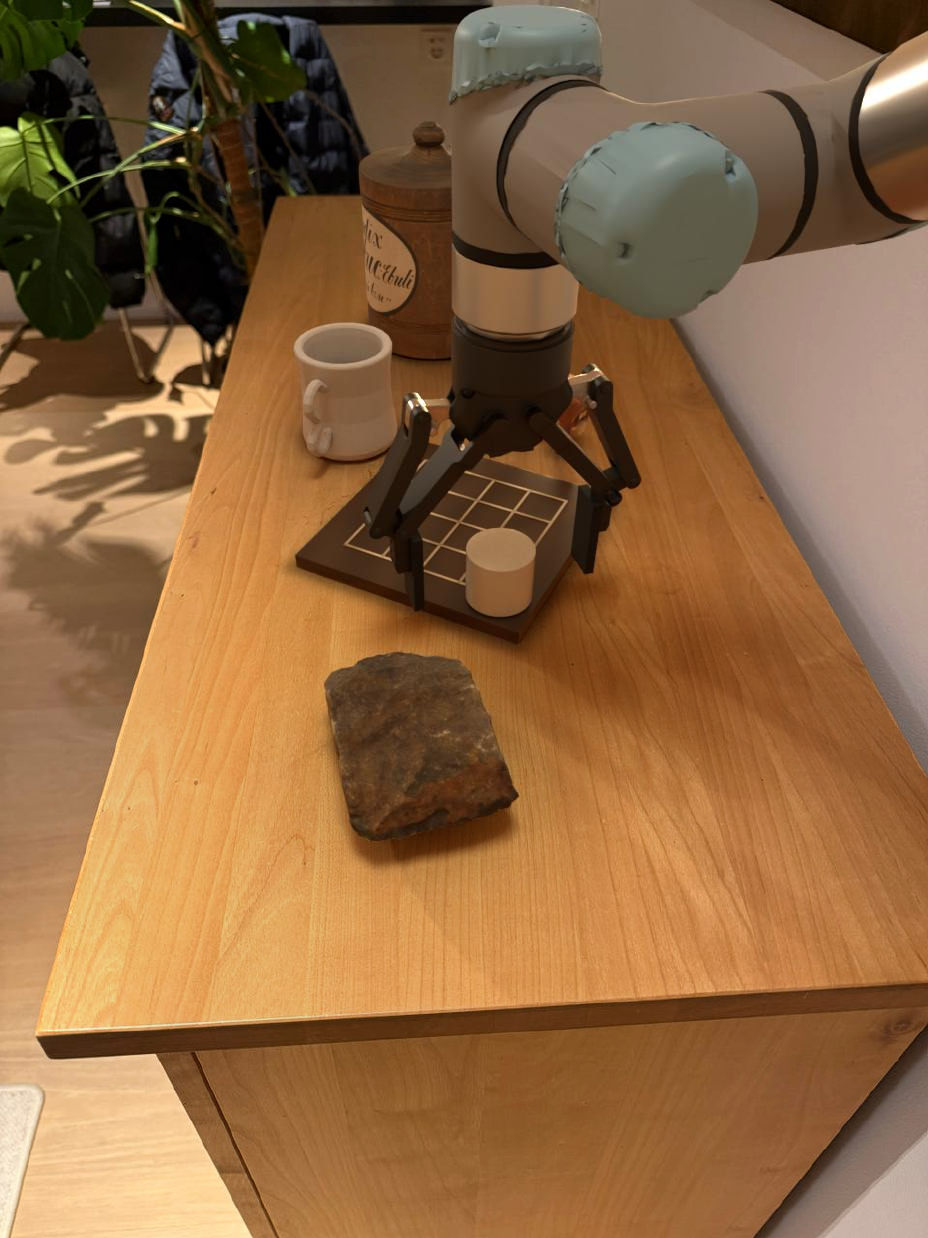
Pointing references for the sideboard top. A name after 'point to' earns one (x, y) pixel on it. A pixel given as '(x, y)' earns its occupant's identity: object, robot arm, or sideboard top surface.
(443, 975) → the sideboard top surface
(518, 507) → the grid board
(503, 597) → the white short cylinder
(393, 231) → the wooden container
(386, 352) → the mug
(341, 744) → the stone
